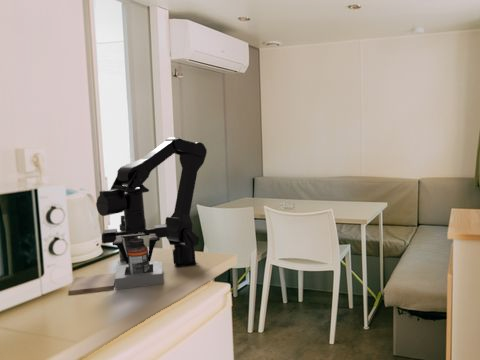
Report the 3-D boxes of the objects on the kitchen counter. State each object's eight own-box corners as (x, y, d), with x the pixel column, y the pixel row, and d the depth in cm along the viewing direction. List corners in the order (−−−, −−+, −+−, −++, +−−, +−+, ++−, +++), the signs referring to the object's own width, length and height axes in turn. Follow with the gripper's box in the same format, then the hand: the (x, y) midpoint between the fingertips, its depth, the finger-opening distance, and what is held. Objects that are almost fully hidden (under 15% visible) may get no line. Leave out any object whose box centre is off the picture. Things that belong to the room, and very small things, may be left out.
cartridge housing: (162, 270, 146) (161, 261, 146) (163, 283, 133) (162, 273, 133) (118, 275, 144) (117, 265, 143) (115, 289, 131) (114, 278, 131)
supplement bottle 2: (133, 274, 142) (130, 237, 141) (153, 274, 141) (149, 236, 140) (126, 281, 136) (122, 242, 135) (146, 280, 135) (143, 241, 134)
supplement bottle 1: (143, 255, 164) (140, 221, 163) (133, 261, 158) (130, 226, 157) (126, 255, 167) (123, 221, 165) (115, 260, 160) (112, 226, 159)
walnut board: (116, 276, 143) (116, 272, 143) (113, 289, 132) (113, 285, 131) (75, 280, 141) (75, 277, 141) (68, 294, 129) (68, 290, 129)
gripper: (165, 202, 146) (169, 251, 148) (103, 208, 142) (108, 258, 144) (167, 208, 135) (171, 261, 137) (99, 214, 132) (104, 269, 133)
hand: (138, 262), depth 138 cm, fingers closed on supplement bottle 2, 6 cm apart
